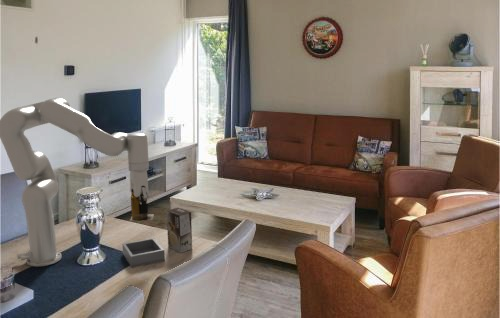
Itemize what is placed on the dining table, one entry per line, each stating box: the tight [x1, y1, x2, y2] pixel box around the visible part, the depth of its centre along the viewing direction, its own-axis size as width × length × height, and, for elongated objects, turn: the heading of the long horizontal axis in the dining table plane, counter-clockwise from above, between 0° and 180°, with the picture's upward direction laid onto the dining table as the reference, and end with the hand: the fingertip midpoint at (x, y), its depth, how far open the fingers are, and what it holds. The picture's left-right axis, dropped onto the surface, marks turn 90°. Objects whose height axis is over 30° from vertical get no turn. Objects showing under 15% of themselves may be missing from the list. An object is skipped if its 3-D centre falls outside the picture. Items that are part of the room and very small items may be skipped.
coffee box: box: [166, 207, 193, 254], centre depth 191 cm, size 9×6×16 cm
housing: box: [122, 237, 166, 269], centre depth 183 cm, size 13×14×4 cm
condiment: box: [129, 189, 155, 222], centre depth 178 cm, size 7×8×12 cm
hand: (141, 210), depth 179 cm, fingers closed on condiment, 6 cm apart
